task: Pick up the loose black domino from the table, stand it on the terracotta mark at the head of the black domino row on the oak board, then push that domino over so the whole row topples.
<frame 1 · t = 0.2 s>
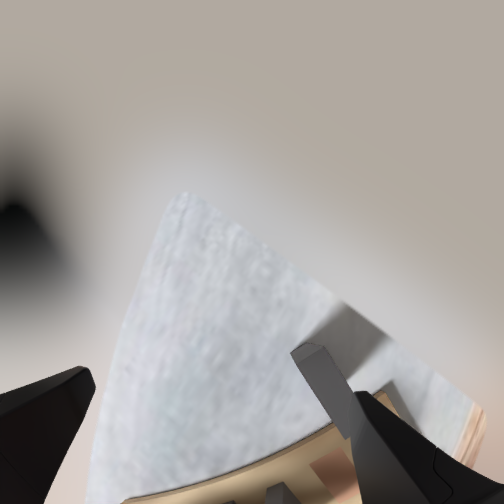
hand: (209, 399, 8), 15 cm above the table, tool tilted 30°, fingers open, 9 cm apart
domino 2: (289, 501, 16), point 1 cm above the table, touching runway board
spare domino: (313, 372, 21), on the table
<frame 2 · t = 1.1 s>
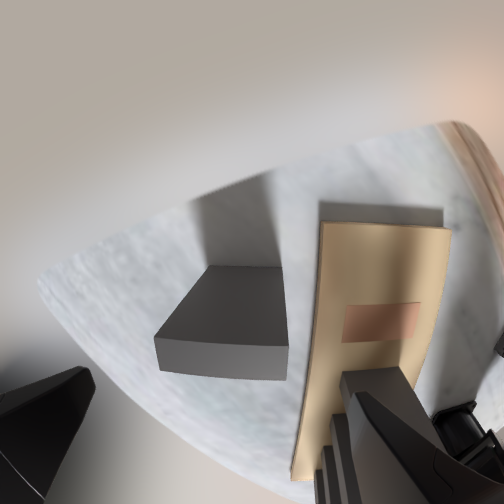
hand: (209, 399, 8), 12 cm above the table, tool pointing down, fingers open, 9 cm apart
domino 4: (345, 448, 22), point 1 cm above the table, touching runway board
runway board: (360, 390, 21), on the table
domino 2: (369, 376, 19), point 1 cm above the table, touching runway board
domino 5: (336, 471, 23), point 1 cm above the table, touching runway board
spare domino: (245, 277, 19), on the table
domino 3: (357, 417, 20), point 1 cm above the table, touching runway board
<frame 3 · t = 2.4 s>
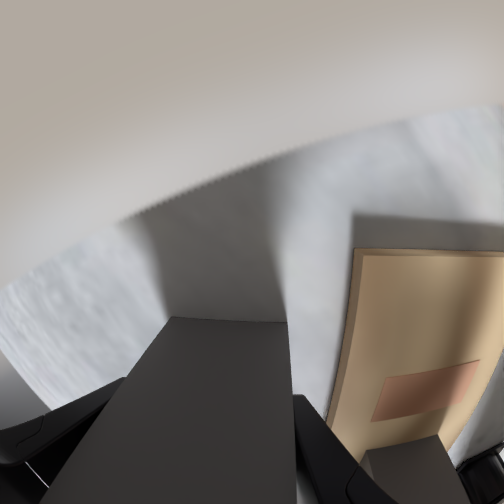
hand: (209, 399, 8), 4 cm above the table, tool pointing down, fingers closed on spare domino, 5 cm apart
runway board: (383, 458, 13), on the table
domino 2: (400, 450, 12), point 1 cm above the table, touching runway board
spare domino: (228, 336, 12), on the table, touching gripper
when the fingers open (6 cm above the table, at t = 6.8 s): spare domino stays where it is, resting on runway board.
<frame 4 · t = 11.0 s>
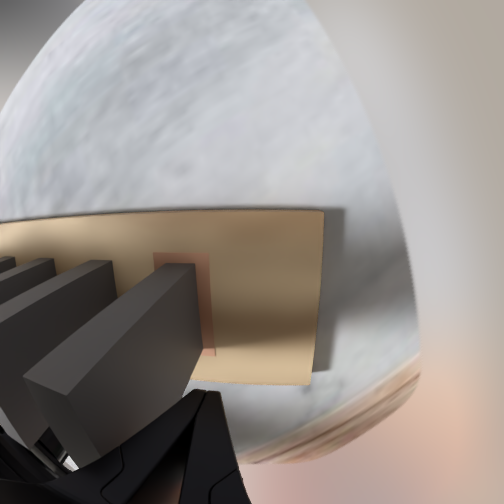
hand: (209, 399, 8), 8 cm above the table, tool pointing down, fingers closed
domino 4: (15, 287, 16), point 1 cm above the table, touching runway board
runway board: (87, 290, 16), on the table
domino 2: (107, 300, 15), point 1 cm above the table, touching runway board
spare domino: (184, 308, 14), point 1 cm above the table, touching gripper, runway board
domino 3: (53, 293, 15), point 1 cm above the table, touching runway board
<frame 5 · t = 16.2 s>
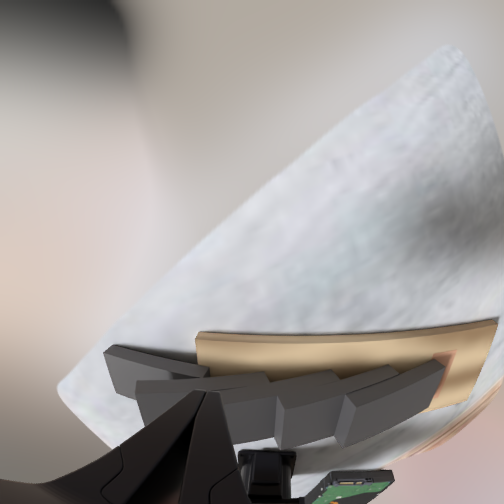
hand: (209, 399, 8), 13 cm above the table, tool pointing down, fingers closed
domino 4: (265, 399, 20), point 2 cm above the table, tilted 71°, touching domino 3, domino 5
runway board: (364, 379, 22), on the table
domino 2: (386, 391, 20), point 2 cm above the table, tilted 72°, touching domino 3, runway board, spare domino
disk drive: (338, 490, 28), on the table
domino 5: (208, 394, 21), point 2 cm above the table, tilted 98°, touching domino 4, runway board
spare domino: (431, 384, 19), point 2 cm above the table, tilted 72°, touching domino 2, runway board
domino 3: (331, 396, 20), point 2 cm above the table, tilted 71°, touching domino 2, domino 4, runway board
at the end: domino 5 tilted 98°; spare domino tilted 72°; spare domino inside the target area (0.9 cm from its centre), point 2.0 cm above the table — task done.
